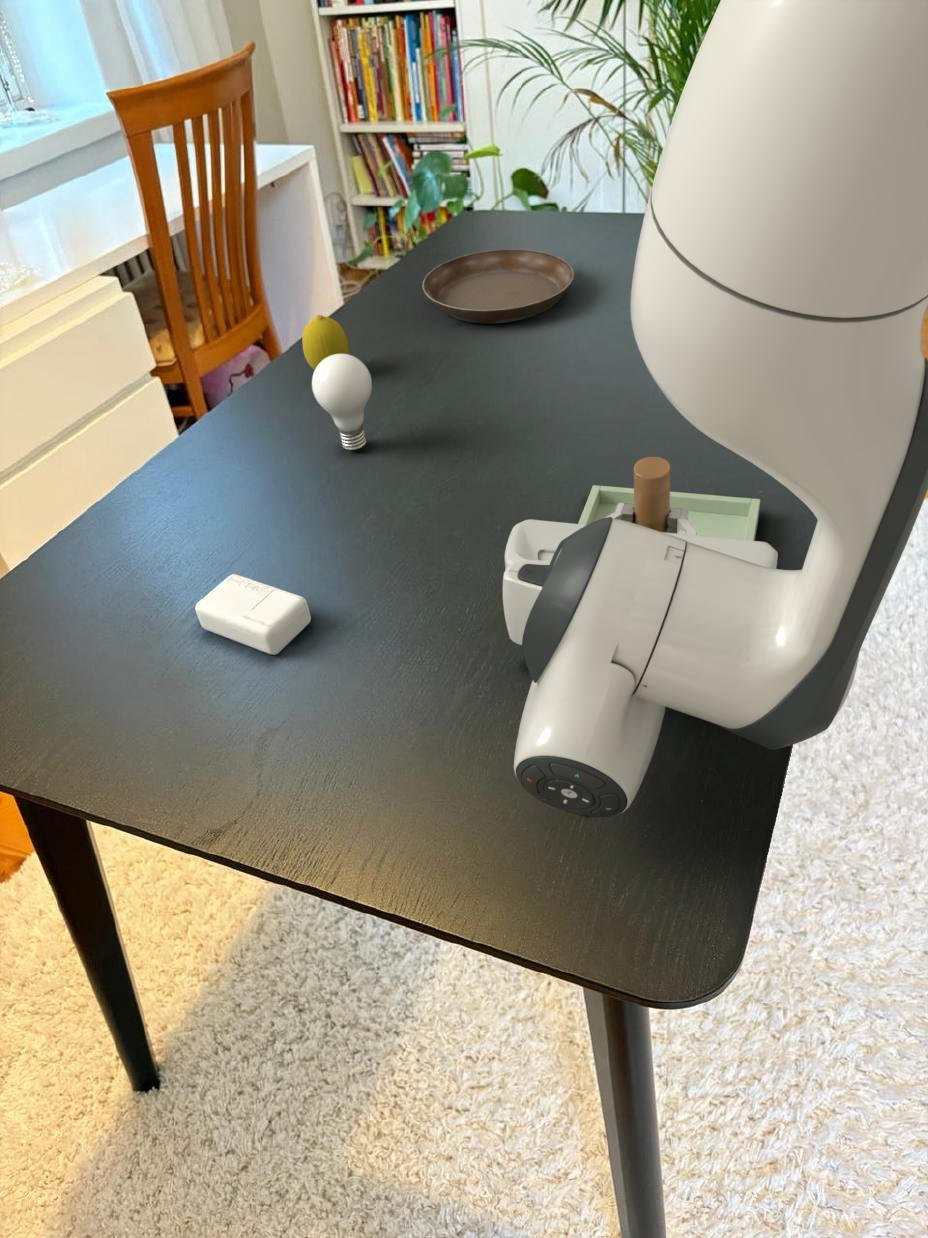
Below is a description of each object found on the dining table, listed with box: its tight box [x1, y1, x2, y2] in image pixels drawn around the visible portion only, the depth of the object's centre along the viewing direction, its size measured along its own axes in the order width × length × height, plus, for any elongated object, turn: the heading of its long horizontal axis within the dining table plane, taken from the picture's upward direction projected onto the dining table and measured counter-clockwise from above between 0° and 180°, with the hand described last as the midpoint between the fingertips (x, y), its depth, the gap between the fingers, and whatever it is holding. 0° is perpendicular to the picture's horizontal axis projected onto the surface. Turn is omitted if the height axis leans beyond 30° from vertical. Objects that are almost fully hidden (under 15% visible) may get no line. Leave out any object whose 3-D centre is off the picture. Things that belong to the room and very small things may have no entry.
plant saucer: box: [422, 248, 575, 325], centre depth 133 cm, size 21×21×3 cm
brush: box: [633, 456, 672, 533], centre depth 79 cm, size 6×4×12 cm, turn 72°
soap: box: [194, 573, 312, 656], centre depth 85 cm, size 9×6×3 cm, turn 58°
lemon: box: [301, 314, 349, 370], centre depth 120 cm, size 6×6×8 cm
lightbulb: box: [311, 353, 373, 452], centre depth 105 cm, size 6×6×11 cm
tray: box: [577, 484, 761, 541], centre depth 84 cm, size 16×24×2 cm, turn 162°
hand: (653, 512), depth 79 cm, fingers closed on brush, 3 cm apart
